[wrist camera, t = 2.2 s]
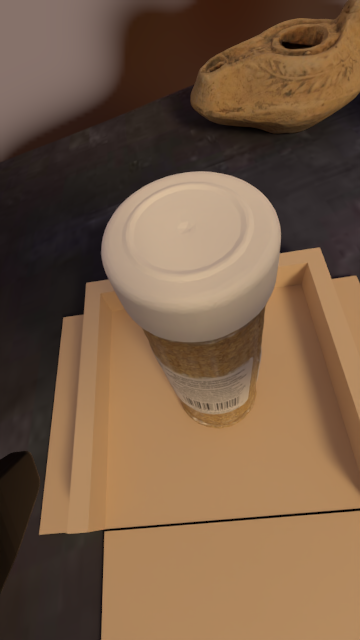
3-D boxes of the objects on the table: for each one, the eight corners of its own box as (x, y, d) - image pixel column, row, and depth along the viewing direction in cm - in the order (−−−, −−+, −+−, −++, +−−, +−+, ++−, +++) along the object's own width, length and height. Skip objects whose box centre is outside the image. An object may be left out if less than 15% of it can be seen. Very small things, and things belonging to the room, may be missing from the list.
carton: (519, 682, 13) (576, 717, 11) (24, 699, 15) (-13, 732, 13) (349, 266, 23) (361, 241, 21) (66, 307, 25) (50, 288, 22)
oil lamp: (180, 119, 34) (166, 20, 27) (314, 68, 35) (333, -41, 28) (228, 183, 28) (225, 80, 22) (385, 120, 29) (430, 1, 22)
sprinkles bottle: (264, 366, 20) (302, 173, 8) (243, 442, 18) (255, 330, 7) (192, 346, 21) (139, 155, 10) (166, 415, 20) (62, 280, 8)
